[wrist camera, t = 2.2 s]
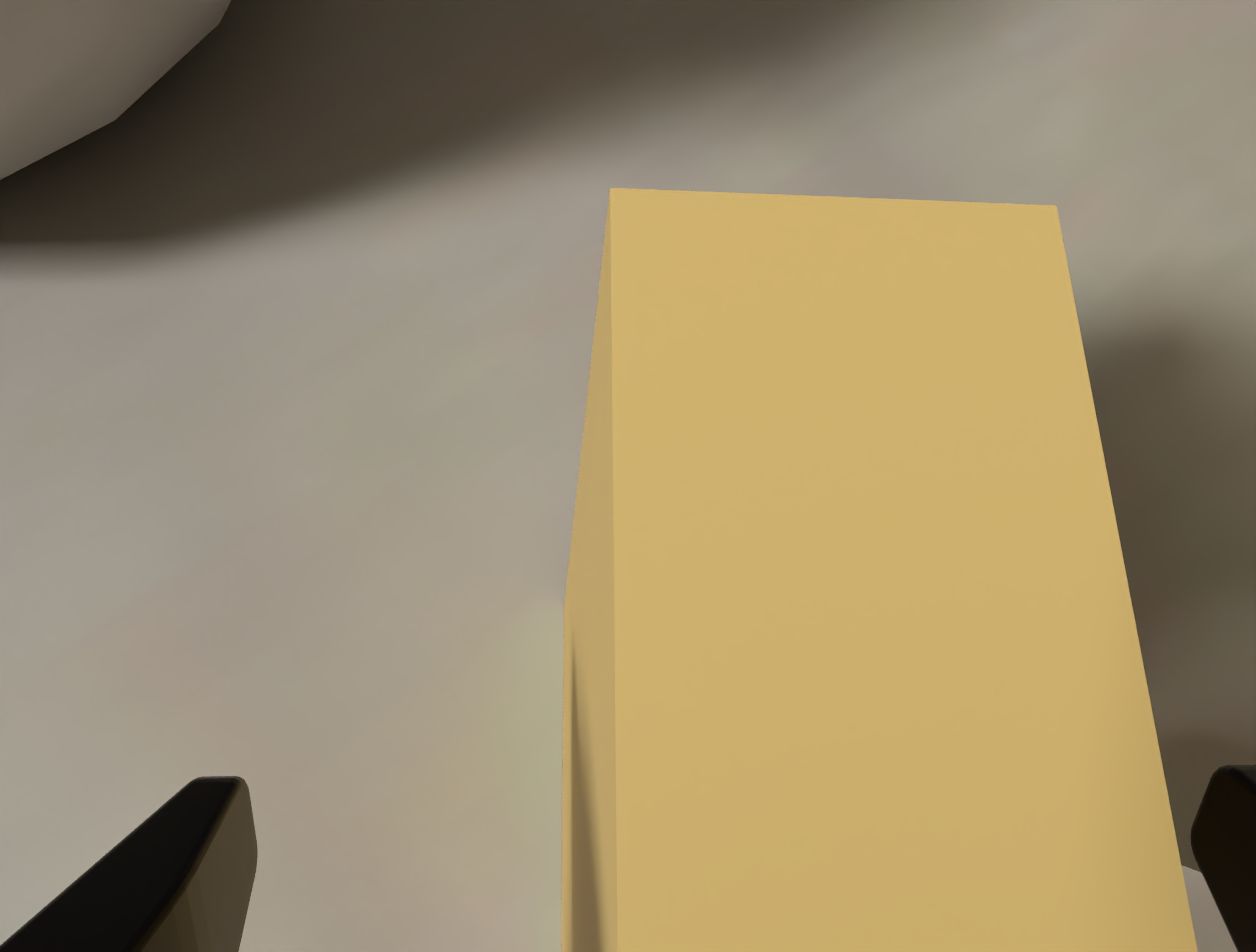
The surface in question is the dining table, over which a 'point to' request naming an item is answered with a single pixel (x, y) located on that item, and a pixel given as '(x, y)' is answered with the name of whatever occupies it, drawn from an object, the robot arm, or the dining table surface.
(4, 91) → the chamber pot
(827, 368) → the block
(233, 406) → the dining table surface
